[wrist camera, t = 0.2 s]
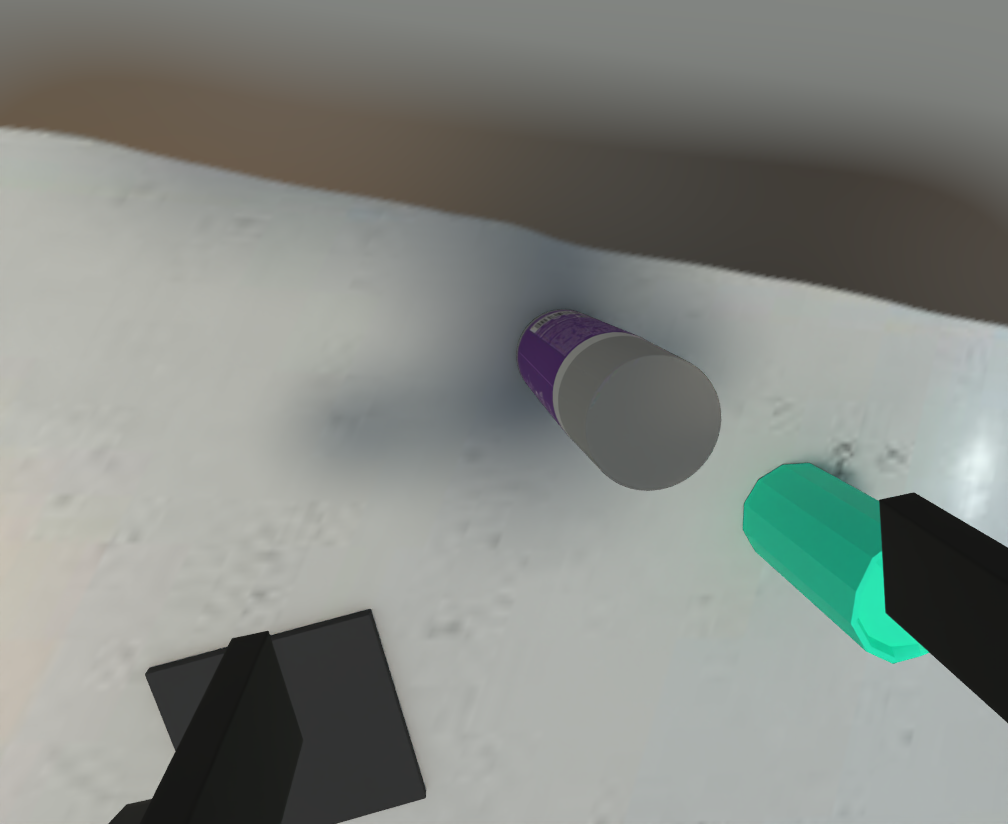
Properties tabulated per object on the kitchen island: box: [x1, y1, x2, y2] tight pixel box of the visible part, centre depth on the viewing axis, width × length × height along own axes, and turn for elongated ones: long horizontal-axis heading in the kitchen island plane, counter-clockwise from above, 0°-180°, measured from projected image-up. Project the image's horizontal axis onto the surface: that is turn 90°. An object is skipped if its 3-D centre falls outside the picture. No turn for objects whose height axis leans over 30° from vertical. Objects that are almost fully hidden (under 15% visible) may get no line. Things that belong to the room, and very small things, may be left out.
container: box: [517, 309, 721, 491], centre depth 30 cm, size 5×5×15 cm
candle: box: [743, 463, 929, 663], centre depth 35 cm, size 6×6×12 cm
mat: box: [145, 610, 426, 824], centre depth 40 cm, size 12×12×1 cm
